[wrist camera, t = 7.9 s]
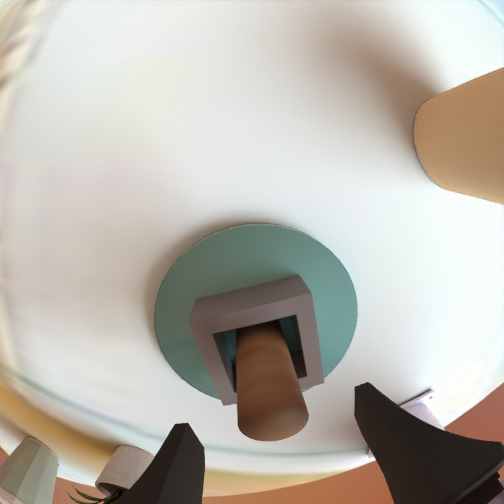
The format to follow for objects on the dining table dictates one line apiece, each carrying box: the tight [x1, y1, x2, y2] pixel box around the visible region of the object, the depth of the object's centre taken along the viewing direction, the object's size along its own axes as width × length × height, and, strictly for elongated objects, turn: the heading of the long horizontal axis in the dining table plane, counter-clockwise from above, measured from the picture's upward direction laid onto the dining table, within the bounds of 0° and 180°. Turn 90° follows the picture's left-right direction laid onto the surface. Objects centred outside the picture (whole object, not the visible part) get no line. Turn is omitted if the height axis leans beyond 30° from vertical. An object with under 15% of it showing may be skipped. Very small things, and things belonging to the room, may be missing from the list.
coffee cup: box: [414, 67, 504, 205], centre depth 10 cm, size 9×9×12 cm
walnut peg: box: [236, 319, 309, 441], centre depth 14 cm, size 3×3×8 cm
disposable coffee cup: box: [0, 437, 59, 504], centre depth 15 cm, size 11×11×15 cm
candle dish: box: [154, 223, 357, 406], centre depth 17 cm, size 14×14×4 cm
